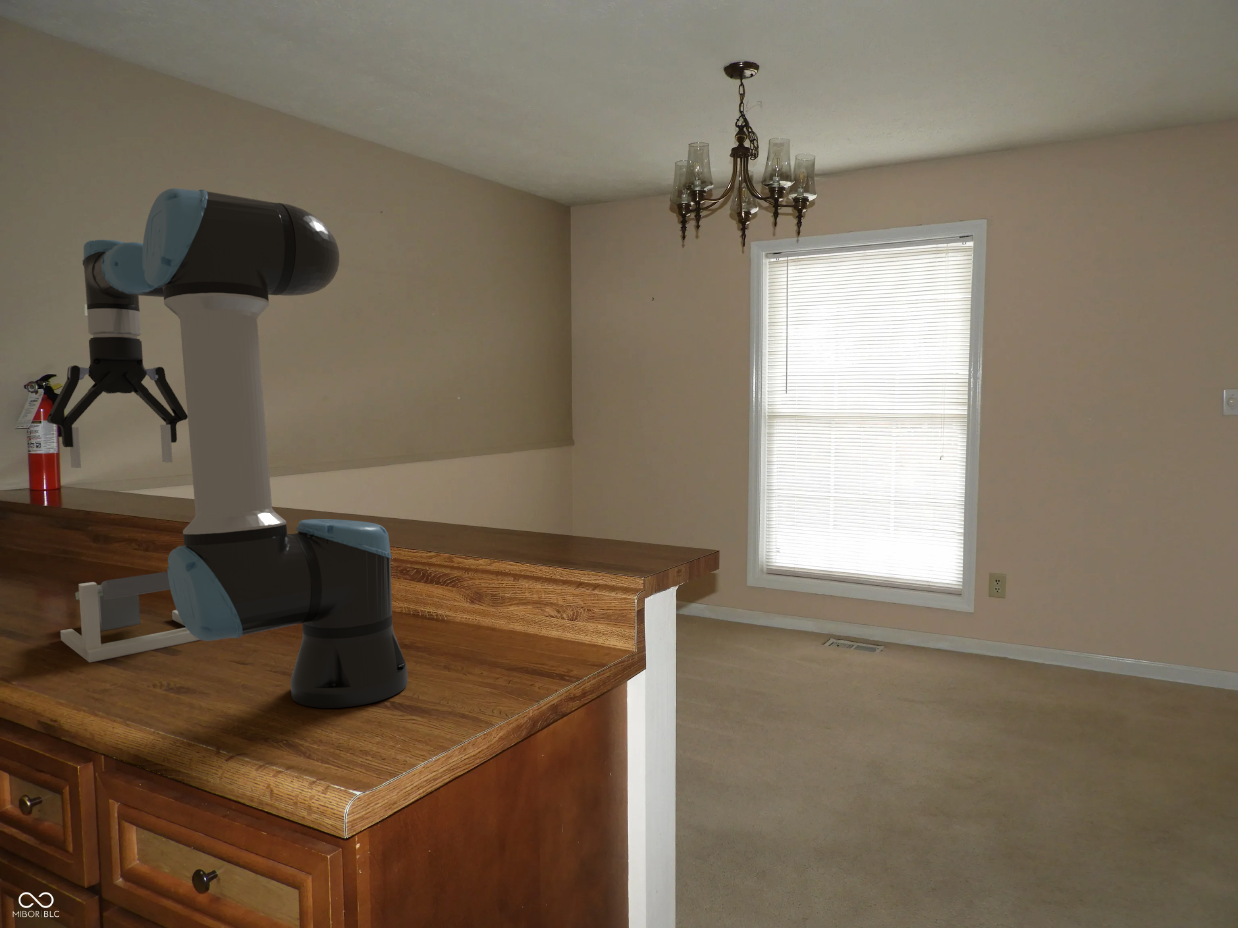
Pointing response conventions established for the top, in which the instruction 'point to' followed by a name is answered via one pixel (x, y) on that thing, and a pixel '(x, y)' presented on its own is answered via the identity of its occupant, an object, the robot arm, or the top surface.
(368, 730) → the top surface
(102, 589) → the trapdoor
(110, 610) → the basalt block
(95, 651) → the stand
